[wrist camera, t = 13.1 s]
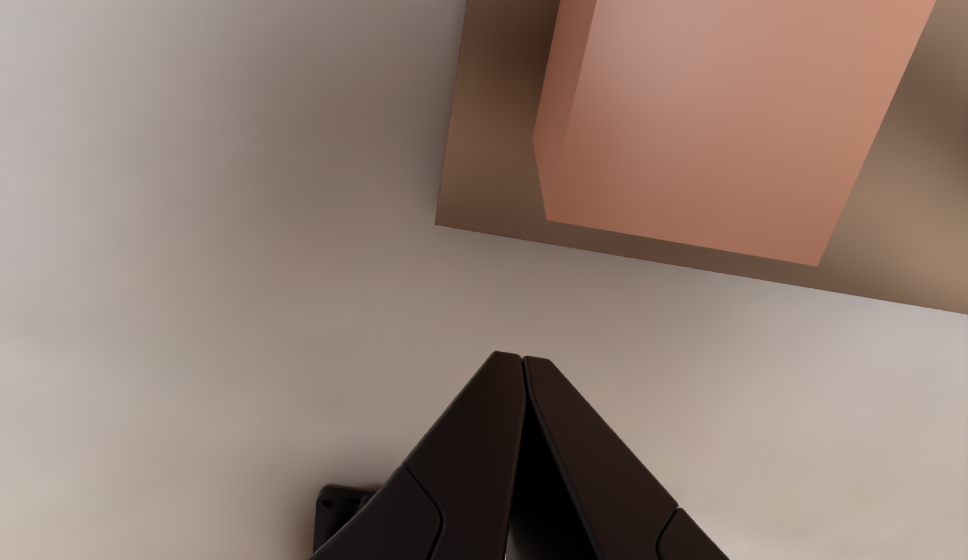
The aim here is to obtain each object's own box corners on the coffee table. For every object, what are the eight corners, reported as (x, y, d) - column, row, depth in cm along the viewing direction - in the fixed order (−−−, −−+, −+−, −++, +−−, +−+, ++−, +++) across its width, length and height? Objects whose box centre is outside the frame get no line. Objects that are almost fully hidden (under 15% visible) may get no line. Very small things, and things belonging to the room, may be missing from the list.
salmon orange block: (712, 169, 18) (817, 266, 12) (532, 138, 17) (546, 220, 11) (780, -33, 15) (953, -40, 9) (575, -73, 15) (620, -106, 9)
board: (1059, 317, 22) (1088, 334, 21) (438, 211, 21) (434, 224, 20) (1314, -70, 17) (1371, -74, 16) (503, -236, 16) (502, -252, 14)
